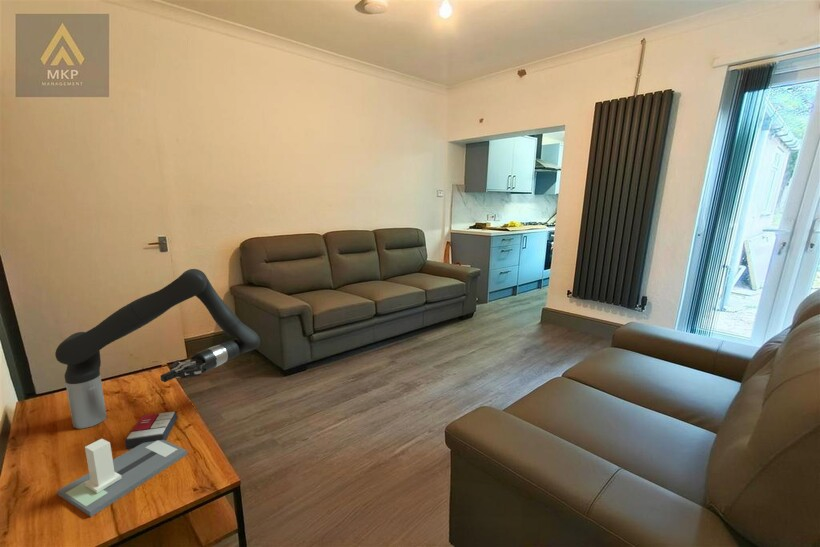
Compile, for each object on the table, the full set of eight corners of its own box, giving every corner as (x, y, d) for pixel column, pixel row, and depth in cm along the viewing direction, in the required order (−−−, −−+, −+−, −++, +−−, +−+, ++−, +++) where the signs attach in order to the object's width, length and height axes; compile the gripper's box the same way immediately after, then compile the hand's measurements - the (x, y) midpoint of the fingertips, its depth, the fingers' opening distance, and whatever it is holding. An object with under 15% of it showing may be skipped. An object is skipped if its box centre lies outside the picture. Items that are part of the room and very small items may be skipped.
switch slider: (84, 485, 101) (78, 448, 98) (109, 471, 106) (103, 435, 104) (97, 493, 98) (90, 454, 96) (121, 478, 104) (116, 441, 101)
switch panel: (58, 495, 99) (57, 490, 99) (155, 439, 123) (155, 435, 122) (90, 517, 93) (90, 512, 93) (187, 454, 117) (186, 450, 116)
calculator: (176, 409, 135) (163, 432, 120) (177, 420, 135) (164, 444, 121) (142, 414, 131) (124, 438, 117) (143, 425, 132) (125, 450, 118)
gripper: (197, 345, 134) (148, 363, 118) (222, 352, 129) (174, 373, 113) (199, 363, 135) (150, 384, 120) (224, 371, 130) (176, 394, 115)
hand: (162, 378), depth 116 cm, fingers closed
